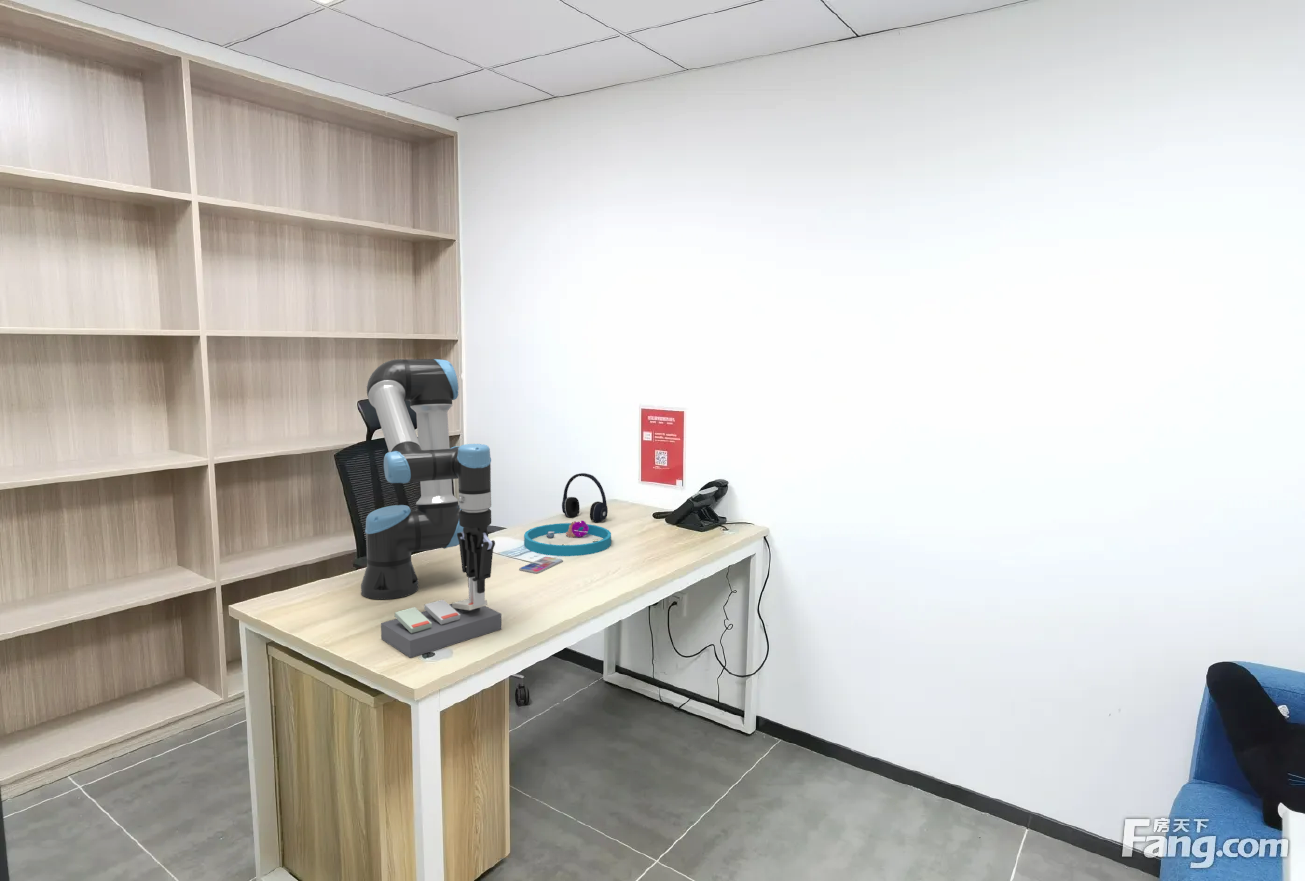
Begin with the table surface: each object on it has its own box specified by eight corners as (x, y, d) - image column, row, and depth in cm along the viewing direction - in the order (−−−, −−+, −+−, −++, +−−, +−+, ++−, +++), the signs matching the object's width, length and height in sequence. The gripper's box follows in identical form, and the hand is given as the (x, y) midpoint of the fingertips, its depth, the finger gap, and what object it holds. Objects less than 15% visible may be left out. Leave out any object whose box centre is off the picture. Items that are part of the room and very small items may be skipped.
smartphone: (564, 559, 237) (537, 572, 223) (564, 562, 237) (537, 575, 223) (545, 555, 240) (517, 568, 227) (545, 558, 240) (517, 571, 227)
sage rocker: (394, 616, 172) (395, 611, 172) (414, 611, 176) (415, 606, 176) (411, 633, 167) (411, 627, 167) (431, 627, 171) (431, 622, 170)
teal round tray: (619, 536, 269) (619, 520, 268) (599, 560, 240) (599, 542, 239) (540, 531, 274) (540, 515, 273) (511, 553, 245) (511, 536, 244)
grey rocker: (424, 608, 178) (424, 603, 177) (442, 603, 181) (443, 598, 181) (441, 624, 173) (441, 619, 172) (460, 619, 176) (460, 614, 176)
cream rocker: (452, 607, 183) (451, 602, 183) (470, 603, 187) (469, 597, 187) (469, 610, 177) (468, 604, 177) (487, 605, 181) (486, 599, 181)
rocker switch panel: (371, 633, 177) (371, 614, 177) (460, 608, 194) (459, 591, 194) (410, 657, 164) (409, 637, 164) (501, 629, 181) (501, 610, 181)
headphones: (559, 517, 294) (559, 472, 291) (570, 513, 300) (570, 469, 297) (599, 525, 283) (599, 478, 281) (609, 521, 289) (610, 475, 286)
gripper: (445, 506, 179) (447, 600, 182) (478, 516, 169) (479, 615, 172) (472, 502, 184) (474, 593, 187) (505, 511, 174) (506, 607, 177)
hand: (476, 603), depth 180 cm, fingers closed
